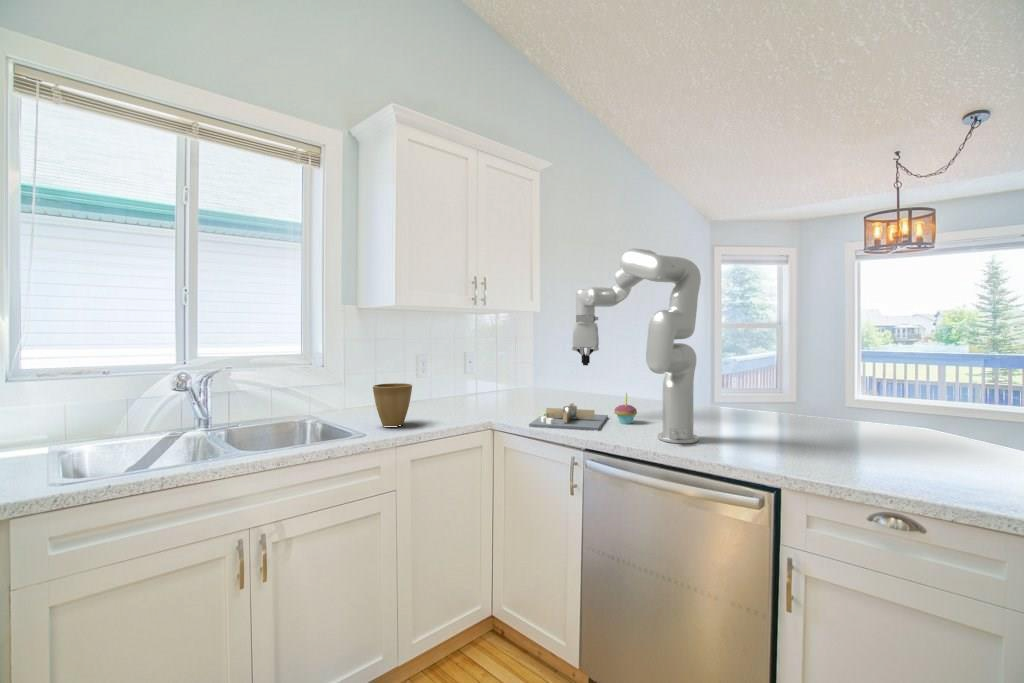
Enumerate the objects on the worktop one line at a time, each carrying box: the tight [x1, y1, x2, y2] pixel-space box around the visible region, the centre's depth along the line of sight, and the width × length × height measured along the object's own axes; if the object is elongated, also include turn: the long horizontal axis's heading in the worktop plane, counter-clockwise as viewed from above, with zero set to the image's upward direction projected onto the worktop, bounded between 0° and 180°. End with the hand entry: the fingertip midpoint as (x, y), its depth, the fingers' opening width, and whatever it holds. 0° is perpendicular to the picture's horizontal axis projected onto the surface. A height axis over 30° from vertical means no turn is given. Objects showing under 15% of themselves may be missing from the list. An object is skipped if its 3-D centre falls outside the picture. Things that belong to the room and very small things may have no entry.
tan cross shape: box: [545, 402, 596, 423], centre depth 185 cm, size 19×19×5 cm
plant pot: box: [372, 382, 413, 427], centre depth 181 cm, size 15×15×16 cm
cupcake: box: [614, 392, 638, 425], centre depth 181 cm, size 9×8×12 cm
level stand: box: [528, 411, 609, 431], centre depth 185 cm, size 26×26×3 cm
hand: (585, 365), depth 190 cm, fingers closed
